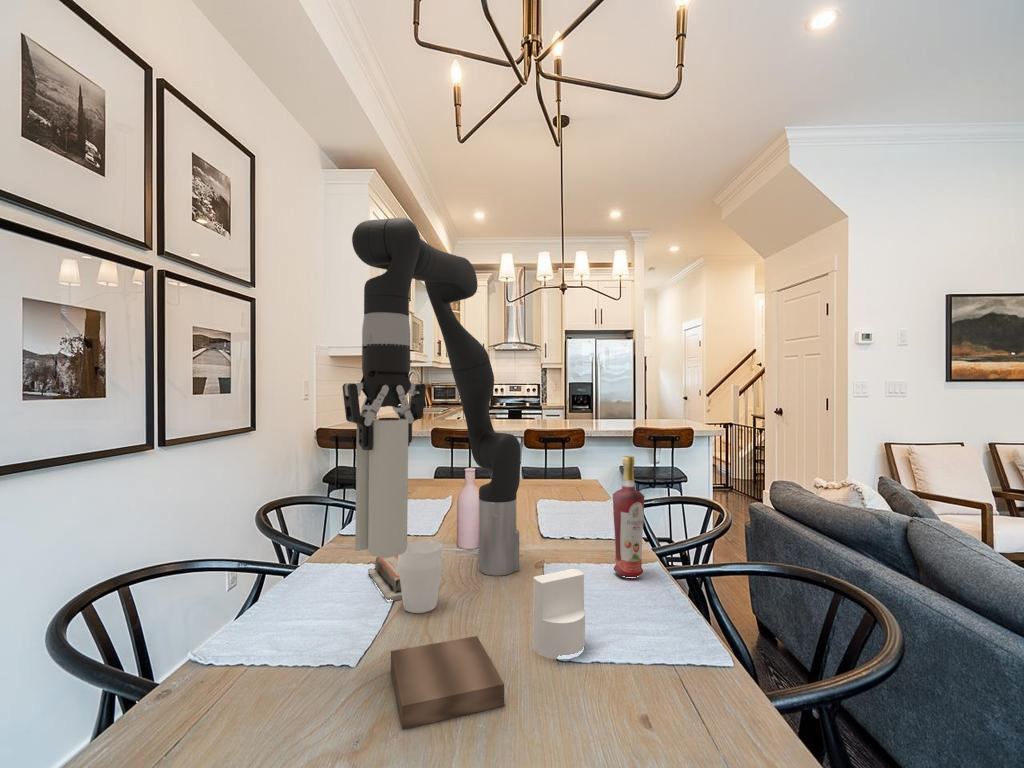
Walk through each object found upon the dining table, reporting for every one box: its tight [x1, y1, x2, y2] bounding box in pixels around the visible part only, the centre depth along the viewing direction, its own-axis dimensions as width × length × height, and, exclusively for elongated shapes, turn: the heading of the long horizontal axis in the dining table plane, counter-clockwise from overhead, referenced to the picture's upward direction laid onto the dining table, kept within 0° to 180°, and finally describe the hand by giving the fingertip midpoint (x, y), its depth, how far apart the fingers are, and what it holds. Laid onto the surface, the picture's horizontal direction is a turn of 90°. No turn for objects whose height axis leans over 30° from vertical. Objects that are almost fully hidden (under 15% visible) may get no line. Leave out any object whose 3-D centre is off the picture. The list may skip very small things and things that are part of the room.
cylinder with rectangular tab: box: [532, 568, 586, 660], centre depth 84 cm, size 9×9×12 cm
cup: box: [398, 539, 444, 614], centre depth 99 cm, size 9×9×12 cm
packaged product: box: [367, 555, 403, 602], centre depth 111 cm, size 18×5×10 cm
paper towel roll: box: [354, 417, 409, 558], centre depth 78 cm, size 7×6×21 cm
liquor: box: [612, 455, 645, 577], centre depth 116 cm, size 7×7×28 cm
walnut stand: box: [390, 635, 505, 730], centre depth 72 cm, size 14×14×3 cm
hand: (386, 447), depth 79 cm, fingers closed on paper towel roll, 6 cm apart
